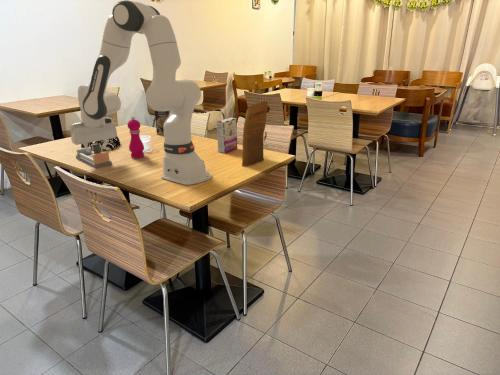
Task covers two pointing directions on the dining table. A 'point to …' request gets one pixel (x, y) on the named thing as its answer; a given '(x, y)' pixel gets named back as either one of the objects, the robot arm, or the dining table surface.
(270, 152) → the dining table surface
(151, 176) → the dining table surface
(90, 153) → the rail board
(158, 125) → the coffee box
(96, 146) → the keeper
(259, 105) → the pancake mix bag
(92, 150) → the decorative bowl
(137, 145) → the pepper mill
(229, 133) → the candy bar box
